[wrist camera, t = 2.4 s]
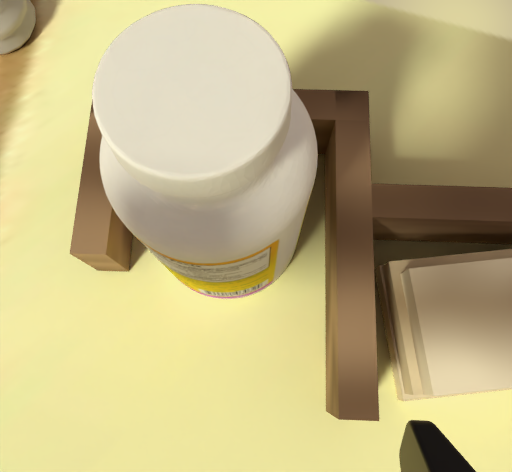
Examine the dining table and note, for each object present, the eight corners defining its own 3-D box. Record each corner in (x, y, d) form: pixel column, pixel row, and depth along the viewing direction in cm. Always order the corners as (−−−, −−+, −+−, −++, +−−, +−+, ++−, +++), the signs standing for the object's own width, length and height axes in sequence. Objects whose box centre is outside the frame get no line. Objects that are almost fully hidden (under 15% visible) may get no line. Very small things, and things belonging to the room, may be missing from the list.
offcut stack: (546, 382, 21) (602, 385, 18) (395, 399, 21) (422, 405, 18) (513, 255, 23) (559, 236, 20) (373, 270, 23) (393, 253, 19)
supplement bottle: (222, 148, 24) (185, -77, 12) (323, 226, 23) (396, 65, 11) (133, 243, 23) (-13, 100, 11) (235, 331, 22) (204, 285, 10)
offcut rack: (609, 422, 21) (678, 432, 17) (81, 401, 21) (46, 407, 18) (565, 134, 24) (613, 97, 21) (116, 122, 25) (94, 83, 22)
